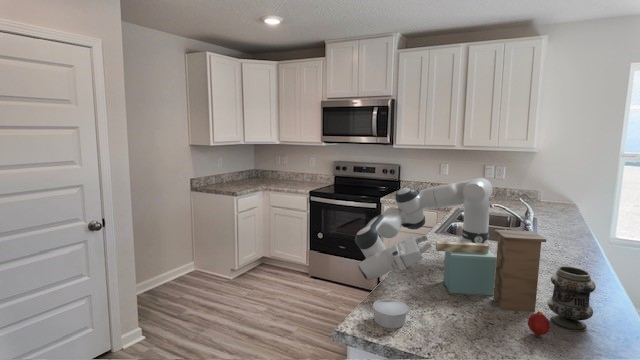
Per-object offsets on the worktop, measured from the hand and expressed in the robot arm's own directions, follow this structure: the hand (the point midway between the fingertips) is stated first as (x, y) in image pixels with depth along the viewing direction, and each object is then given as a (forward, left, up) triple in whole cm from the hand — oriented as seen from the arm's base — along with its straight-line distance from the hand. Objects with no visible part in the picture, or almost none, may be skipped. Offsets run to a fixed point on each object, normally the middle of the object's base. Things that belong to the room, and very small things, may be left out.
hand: (428, 240), depth 143 cm
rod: (0, +13, -4) cm, 13 cm away
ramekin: (+30, -16, -19) cm, 39 cm away
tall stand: (+12, +28, -19) cm, 36 cm away
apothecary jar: (+23, +41, -19) cm, 51 cm away
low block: (0, +16, -19) cm, 24 cm away
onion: (+32, +28, -19) cm, 47 cm away
